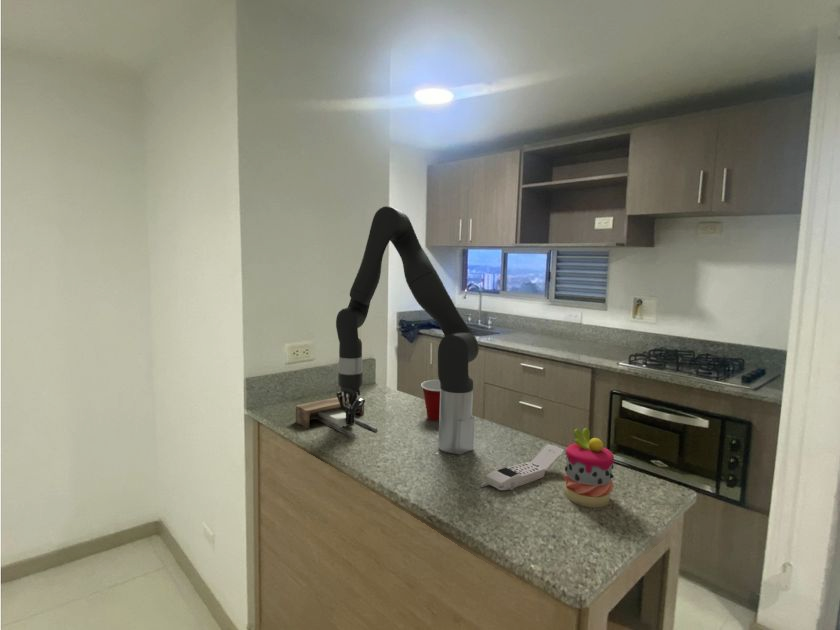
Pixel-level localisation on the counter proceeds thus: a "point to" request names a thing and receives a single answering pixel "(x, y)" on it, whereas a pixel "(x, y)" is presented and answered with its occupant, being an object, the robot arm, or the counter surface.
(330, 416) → the cream rectangular block
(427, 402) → the plastic cup
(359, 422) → the overhang
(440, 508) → the counter surface
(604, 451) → the cake
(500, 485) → the mobile phone
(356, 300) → the robot arm
